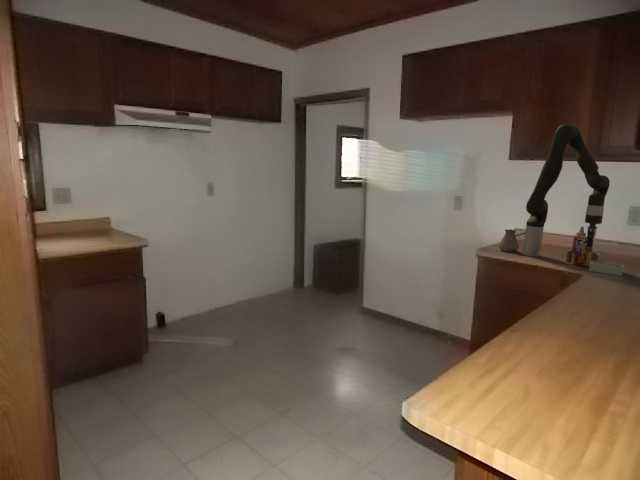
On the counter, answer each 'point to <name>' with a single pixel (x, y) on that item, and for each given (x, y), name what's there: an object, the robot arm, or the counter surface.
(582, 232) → the squeeze bottle
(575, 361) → the counter surface
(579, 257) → the candy box
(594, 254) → the bay
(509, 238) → the coffee pot
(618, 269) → the tray
